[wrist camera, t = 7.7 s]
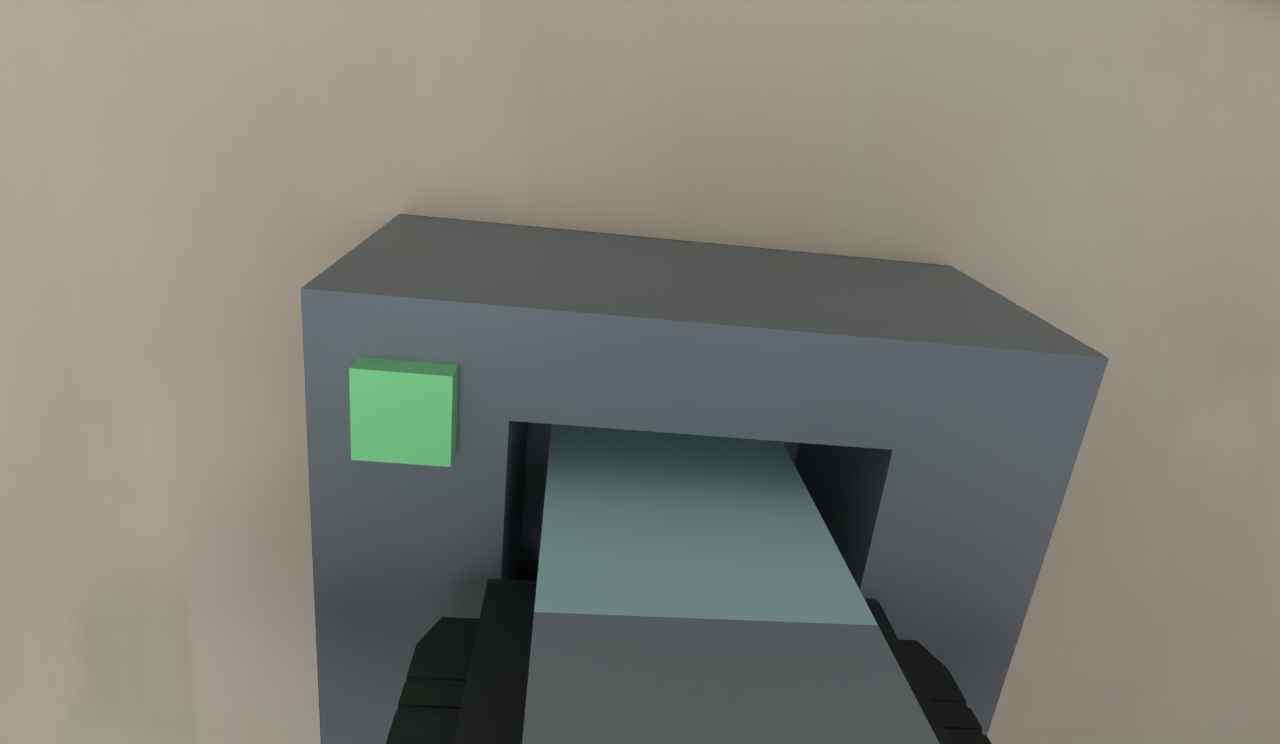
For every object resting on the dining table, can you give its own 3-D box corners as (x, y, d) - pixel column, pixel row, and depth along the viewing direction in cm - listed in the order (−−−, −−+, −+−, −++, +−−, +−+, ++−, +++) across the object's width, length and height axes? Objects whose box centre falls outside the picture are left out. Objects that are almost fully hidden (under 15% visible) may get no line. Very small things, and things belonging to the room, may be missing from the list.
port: (951, 266, 15) (1127, 369, 10) (864, 623, 18) (968, 846, 13) (399, 214, 14) (288, 297, 9) (399, 596, 17) (314, 821, 12)
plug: (774, 427, 13) (1021, 898, 6) (744, 611, 14) (913, 1192, 7) (552, 413, 13) (508, 894, 5) (540, 602, 14) (490, 1204, 7)
